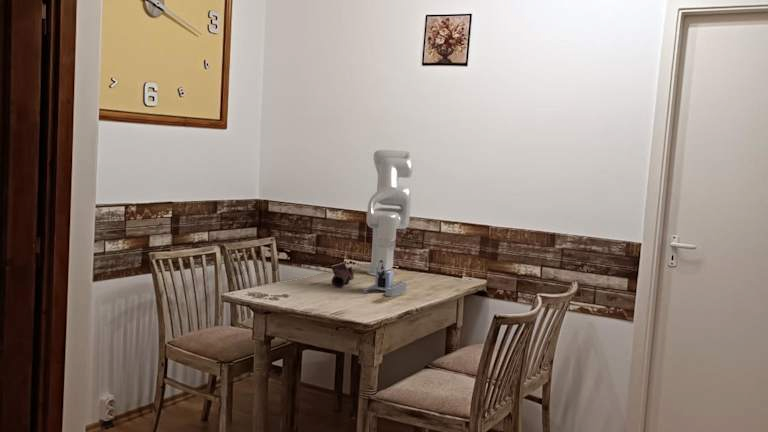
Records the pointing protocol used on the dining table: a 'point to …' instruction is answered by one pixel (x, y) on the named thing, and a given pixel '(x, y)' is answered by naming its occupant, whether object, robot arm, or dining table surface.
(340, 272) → the brown pipe fitting
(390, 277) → the module
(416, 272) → the dining table surface
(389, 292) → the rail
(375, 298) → the dining table surface
